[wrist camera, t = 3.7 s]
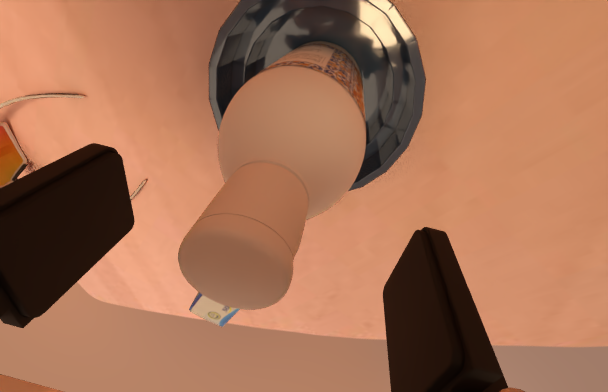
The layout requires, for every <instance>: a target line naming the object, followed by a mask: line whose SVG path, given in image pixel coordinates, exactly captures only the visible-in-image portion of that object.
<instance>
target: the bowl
mask: <svg viewBox="0 0 608 392" xmlns="http://www.w3.org/2000/svg"><path fill="white" fill-rule="evenodd" d="M313 41H325V42H330V43H333V44H336V45H338V46H340V47H342V48H344V49H345V50H346V51H347V52H348V53H349V54H350V55H351V56H352V57H353V58H354V60H355V61H356V63H357V65H358V67H359V69H360V72H361V76H362V83H363V93H364V107H365V121H366V135H367V141H366V150H365V154H364V159H363V162H362V165H361V168H360V171H359V173H358V175H357V177H356V179H355V181H354V183H353V184H352V186H351V187H350V189H349V190H348V191H350V190H354V189H357V188H361V187H363V186H365V185H366V184H368V183H369V182H371V181H372V180H374V179H376V178H377V177H379V176H380V175H382V174H383V173H385V172H386V171H387V170H388V169H389V168H390V167H391V166H392V165H393V164H394V162H395V161H396V160H397V159H398V158H399V157H400V156H401V154H402V153H403V152H404V151H405V150H406V149H407V147H408V146H409V144H410V141H411V139H412V137H413V135H414V132H415V130H416V128H417V125H418V123H419V121H420V119H421V115H422V111H423V101H424V92H425V82H426V78H425V73H424V68H423V64H422V60H421V55H420V51H419V46H418V42H417V40H416V37H415V36H414V34H413V33H412V31H411V29H410V28H409V26H408V25H407V23H406V22H405V20H404V19H403V17H402V16H401V14H400V13H399V11H398V9H397V8H396V6H395V5H393V3H392V2H391V1H389V0H241V1H240V2H239V3H238V5H237V6H236V7H235V9H234V10H233V12H232V13H231V14H230V16H229V17H228V18H227V20H226V21H225V22H224V24H223V25H222V27H221V28H220V30H219V32H218V36H217V39H216V42H215V45H214V49H213V52H212V55H211V58H210V62H209V101H210V104H211V107H212V111H213V114H214V117H215V121H216V124H217V127H218V129H220V125H221V122H222V119H223V116H224V113H225V111H226V109H227V107H228V105H229V103H230V102H231V100H232V99H233V97H234V96H235V94H236V93H237V92H238V90H239V89H240V88H241V87H242V86H243V85H244V84H245V83H246V82H247V81H248V80H249V79H250V78H252V77H253V76H255V75H256V74H258V73H259V72H261V71H262V70H264V69H265V68H267V67H268V66H270V65H271V64H273V63H274V62H276V61H277V60H279V59H280V58H282V57H283V56H285V55H286V54H288V53H289V52H291V51H292V50H294V49H296V48H298V47H299V46H301V45H303V44H306V43H309V42H313Z"/></svg>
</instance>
